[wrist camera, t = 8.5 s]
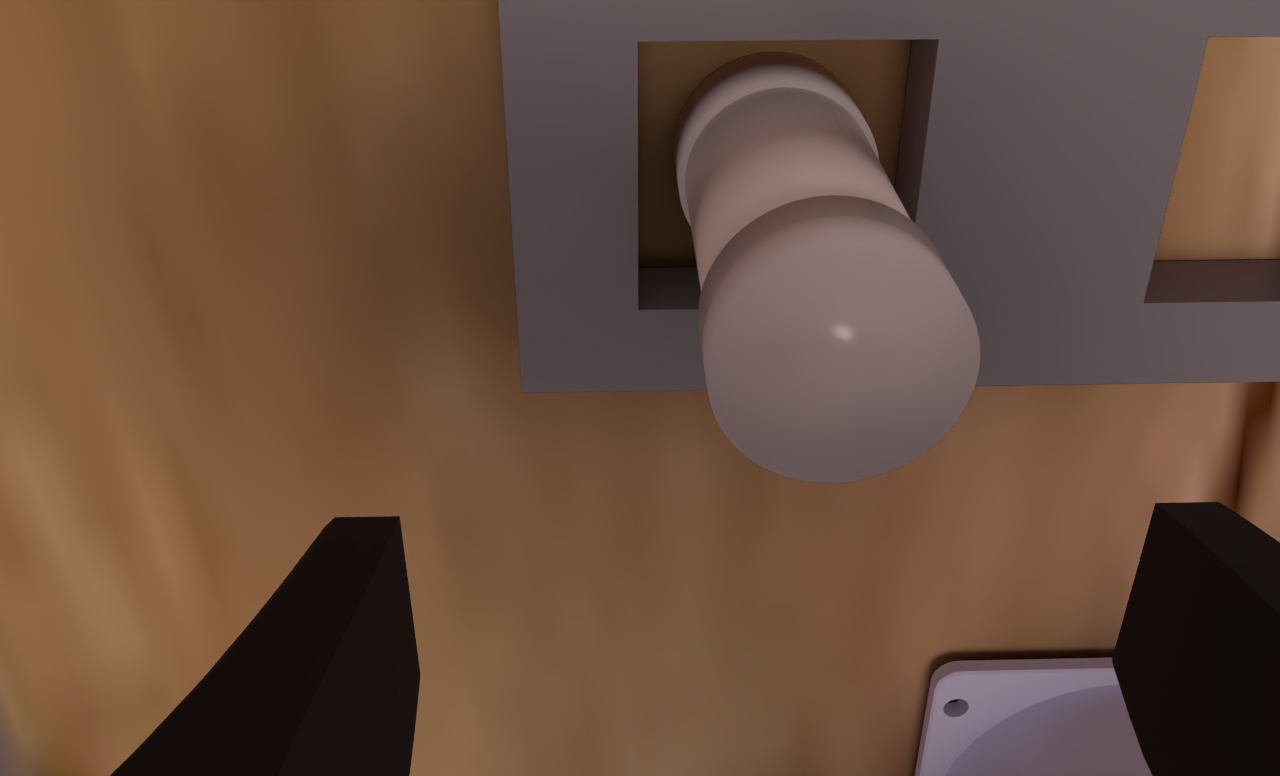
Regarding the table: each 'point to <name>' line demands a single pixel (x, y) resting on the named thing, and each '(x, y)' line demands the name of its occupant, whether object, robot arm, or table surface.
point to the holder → (902, 184)
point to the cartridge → (814, 279)
